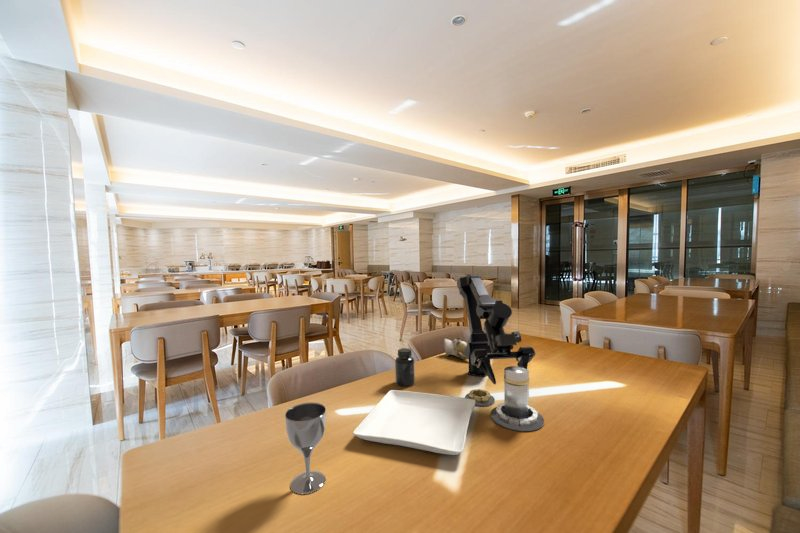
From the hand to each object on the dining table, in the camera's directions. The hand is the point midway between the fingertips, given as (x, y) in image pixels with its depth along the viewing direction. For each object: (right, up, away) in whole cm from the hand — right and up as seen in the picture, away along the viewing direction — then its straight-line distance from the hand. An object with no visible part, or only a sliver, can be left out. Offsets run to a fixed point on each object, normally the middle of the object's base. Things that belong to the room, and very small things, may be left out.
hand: (510, 383), depth 97 cm
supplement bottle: (-30, -8, +22) cm, 38 cm away
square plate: (-27, -10, -7) cm, 29 cm away
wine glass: (-51, -11, -28) cm, 59 cm away
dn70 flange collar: (+1, -9, -4) cm, 9 cm away
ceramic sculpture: (-6, -6, +50) cm, 51 cm away
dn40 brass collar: (-7, -8, +8) cm, 13 cm away
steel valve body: (0, -8, -4) cm, 9 cm away
